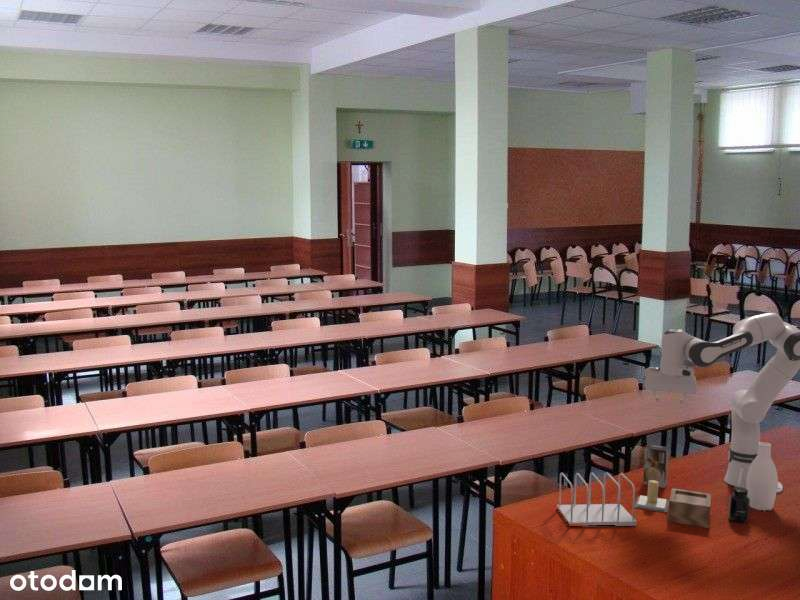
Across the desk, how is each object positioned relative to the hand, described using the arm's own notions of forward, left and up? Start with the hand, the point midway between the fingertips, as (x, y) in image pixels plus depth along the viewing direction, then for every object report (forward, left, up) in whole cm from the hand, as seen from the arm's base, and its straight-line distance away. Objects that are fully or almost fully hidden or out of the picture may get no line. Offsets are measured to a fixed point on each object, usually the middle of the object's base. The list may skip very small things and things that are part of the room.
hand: (669, 402), depth 313 cm
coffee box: (+4, -6, -37) cm, 38 cm away
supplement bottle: (-28, +20, -37) cm, 51 cm away
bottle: (-36, +2, -37) cm, 52 cm away
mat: (+3, +19, -37) cm, 42 cm away
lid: (+3, +19, -37) cm, 41 cm away
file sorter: (+21, +41, -38) cm, 59 cm away
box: (-11, +26, -37) cm, 47 cm away
